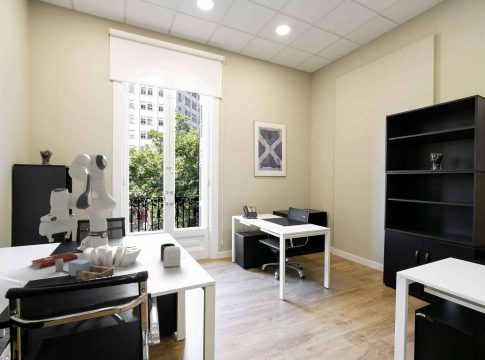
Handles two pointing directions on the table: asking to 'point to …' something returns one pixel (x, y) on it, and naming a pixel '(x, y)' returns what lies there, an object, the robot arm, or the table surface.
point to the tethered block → (73, 266)
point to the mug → (164, 248)
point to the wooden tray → (95, 273)
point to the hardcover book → (53, 260)
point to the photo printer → (172, 256)
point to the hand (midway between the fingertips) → (59, 239)
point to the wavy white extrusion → (111, 255)
